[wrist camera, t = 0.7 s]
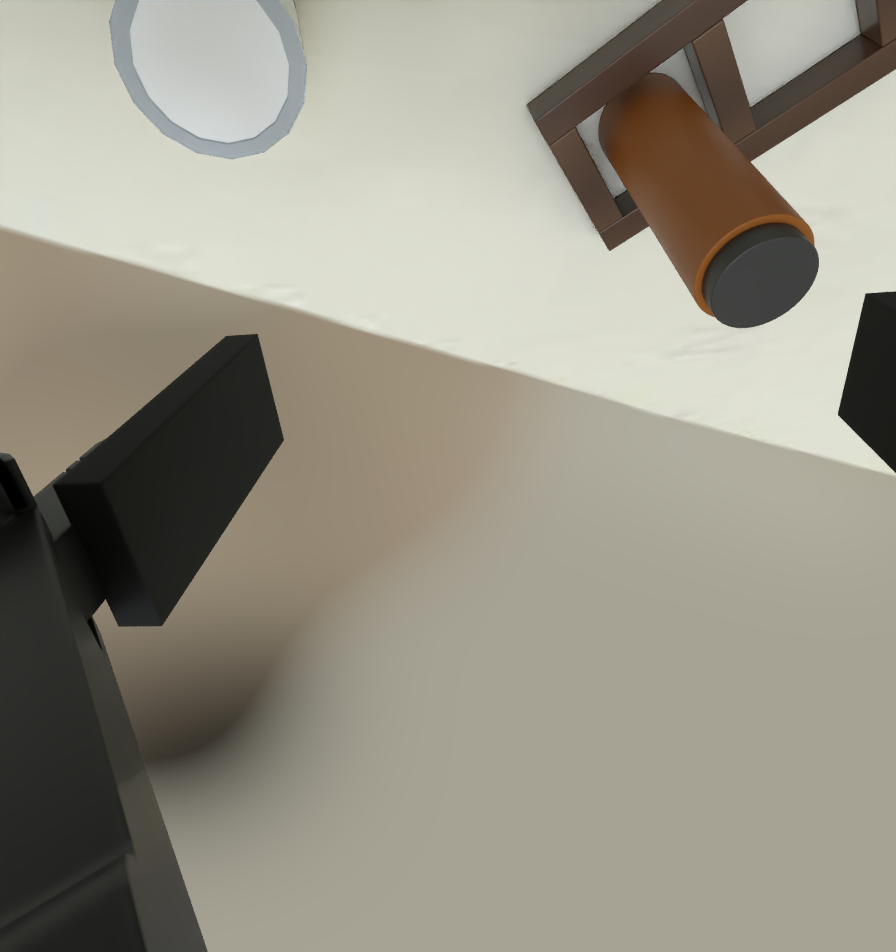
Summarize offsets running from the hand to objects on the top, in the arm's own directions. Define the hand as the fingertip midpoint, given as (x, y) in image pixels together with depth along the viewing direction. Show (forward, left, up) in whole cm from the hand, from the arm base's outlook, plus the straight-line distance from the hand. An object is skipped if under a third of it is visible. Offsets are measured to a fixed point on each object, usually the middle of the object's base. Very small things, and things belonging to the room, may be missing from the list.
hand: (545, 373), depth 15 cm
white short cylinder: (-6, -7, -24) cm, 26 cm away
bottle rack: (+10, +10, -24) cm, 28 cm away
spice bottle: (+10, +6, -24) cm, 27 cm away
